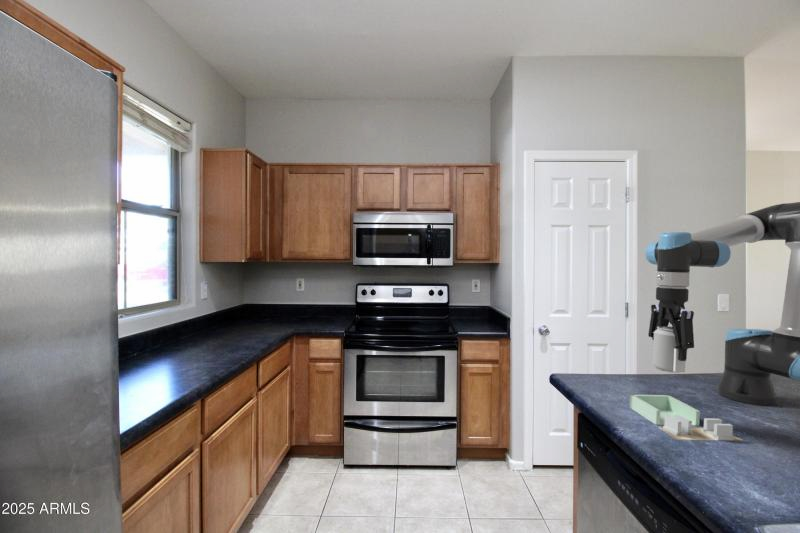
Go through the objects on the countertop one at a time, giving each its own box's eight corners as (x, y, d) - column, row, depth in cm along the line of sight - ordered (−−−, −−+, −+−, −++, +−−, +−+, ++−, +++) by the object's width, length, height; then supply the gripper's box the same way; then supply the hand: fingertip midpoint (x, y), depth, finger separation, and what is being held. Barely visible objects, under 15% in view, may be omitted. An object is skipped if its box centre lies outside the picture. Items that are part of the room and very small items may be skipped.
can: (689, 374, 106) (692, 330, 106) (659, 372, 108) (661, 329, 107) (676, 366, 113) (678, 325, 113) (647, 364, 115) (649, 324, 114)
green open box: (668, 409, 119) (668, 395, 118) (699, 427, 107) (699, 411, 106) (629, 409, 118) (629, 394, 118) (655, 426, 106) (656, 410, 106)
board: (719, 430, 105) (720, 428, 105) (743, 442, 98) (743, 440, 98) (657, 429, 105) (657, 427, 105) (676, 441, 98) (676, 439, 98)
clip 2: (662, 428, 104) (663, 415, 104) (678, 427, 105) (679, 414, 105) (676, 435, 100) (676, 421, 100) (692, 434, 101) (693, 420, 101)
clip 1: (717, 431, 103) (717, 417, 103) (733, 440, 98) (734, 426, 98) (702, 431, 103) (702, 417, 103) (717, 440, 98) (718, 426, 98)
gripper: (636, 284, 120) (633, 357, 121) (686, 290, 99) (682, 378, 100) (660, 284, 120) (657, 357, 121) (715, 290, 100) (710, 379, 100)
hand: (668, 367), depth 110 cm, fingers closed on can, 7 cm apart
